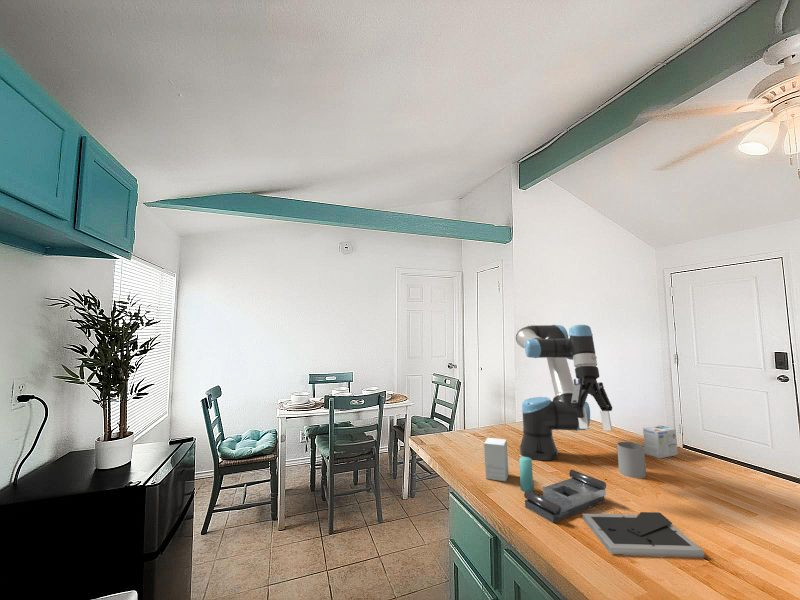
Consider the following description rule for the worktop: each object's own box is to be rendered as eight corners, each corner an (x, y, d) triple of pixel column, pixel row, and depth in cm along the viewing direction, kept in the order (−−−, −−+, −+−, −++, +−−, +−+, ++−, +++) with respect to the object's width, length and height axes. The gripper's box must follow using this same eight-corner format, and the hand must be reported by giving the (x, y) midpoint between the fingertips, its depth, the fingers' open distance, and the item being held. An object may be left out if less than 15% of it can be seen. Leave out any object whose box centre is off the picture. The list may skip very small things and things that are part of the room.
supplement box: (509, 474, 131) (507, 439, 132) (506, 482, 124) (504, 445, 125) (488, 471, 134) (487, 437, 135) (484, 478, 127) (483, 442, 128)
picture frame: (660, 523, 98) (582, 521, 99) (659, 512, 98) (582, 510, 100) (704, 559, 82) (611, 556, 84) (703, 547, 82) (610, 544, 84)
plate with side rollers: (523, 506, 107) (522, 484, 108) (575, 488, 118) (574, 468, 119) (554, 523, 97) (553, 499, 98) (607, 502, 109) (606, 480, 109)
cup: (650, 479, 124) (648, 449, 125) (624, 477, 126) (622, 448, 127) (639, 469, 133) (637, 442, 133) (615, 468, 134) (613, 441, 135)
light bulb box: (662, 450, 153) (660, 424, 154) (678, 455, 146) (676, 428, 147) (644, 453, 149) (642, 427, 150) (660, 458, 143) (658, 431, 144)
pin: (518, 488, 119) (516, 458, 120) (526, 486, 121) (525, 455, 122) (527, 493, 115) (525, 461, 116) (536, 490, 117) (534, 459, 118)
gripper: (574, 360, 119) (584, 427, 111) (615, 370, 131) (627, 431, 123) (554, 364, 125) (563, 427, 117) (596, 372, 137) (606, 431, 129)
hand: (596, 429), depth 120 cm, fingers open, 13 cm apart
